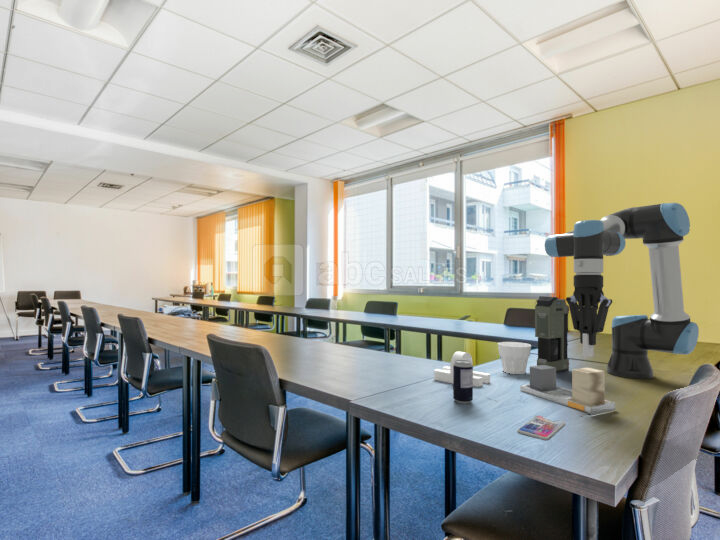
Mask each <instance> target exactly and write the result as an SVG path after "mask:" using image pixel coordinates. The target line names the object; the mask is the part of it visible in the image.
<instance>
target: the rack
mask: <svg viewBox="0 0 720 540" xmlns="http://www.w3.org/2000/svg"><path fill="white" fill-rule="evenodd" d="M519 389H520V392H523V393H526V394H530V395H532V396H536V397H539V398H542V399H544V400H548V401H551V402H554V403H557V404H560V405H564V406H566V407H570V408H571V409H572V408H573V409H574V410H579V411H581V412H585V413H587V416H594V415H595V416H596V415H600V414H605V413H609V412H613V411H616V402H614V401H611V400H607V399H605V403H603V404H598V405H593V406H587V405H584V404H581V403H577V402H574V401H572V389H568V388H565V387H563V386H562V387H561V386H557V385H556V389H555V390H548V391H539V390H536V389H532V388H530V383H529V384H521V385H520V386H519Z"/></svg>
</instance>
